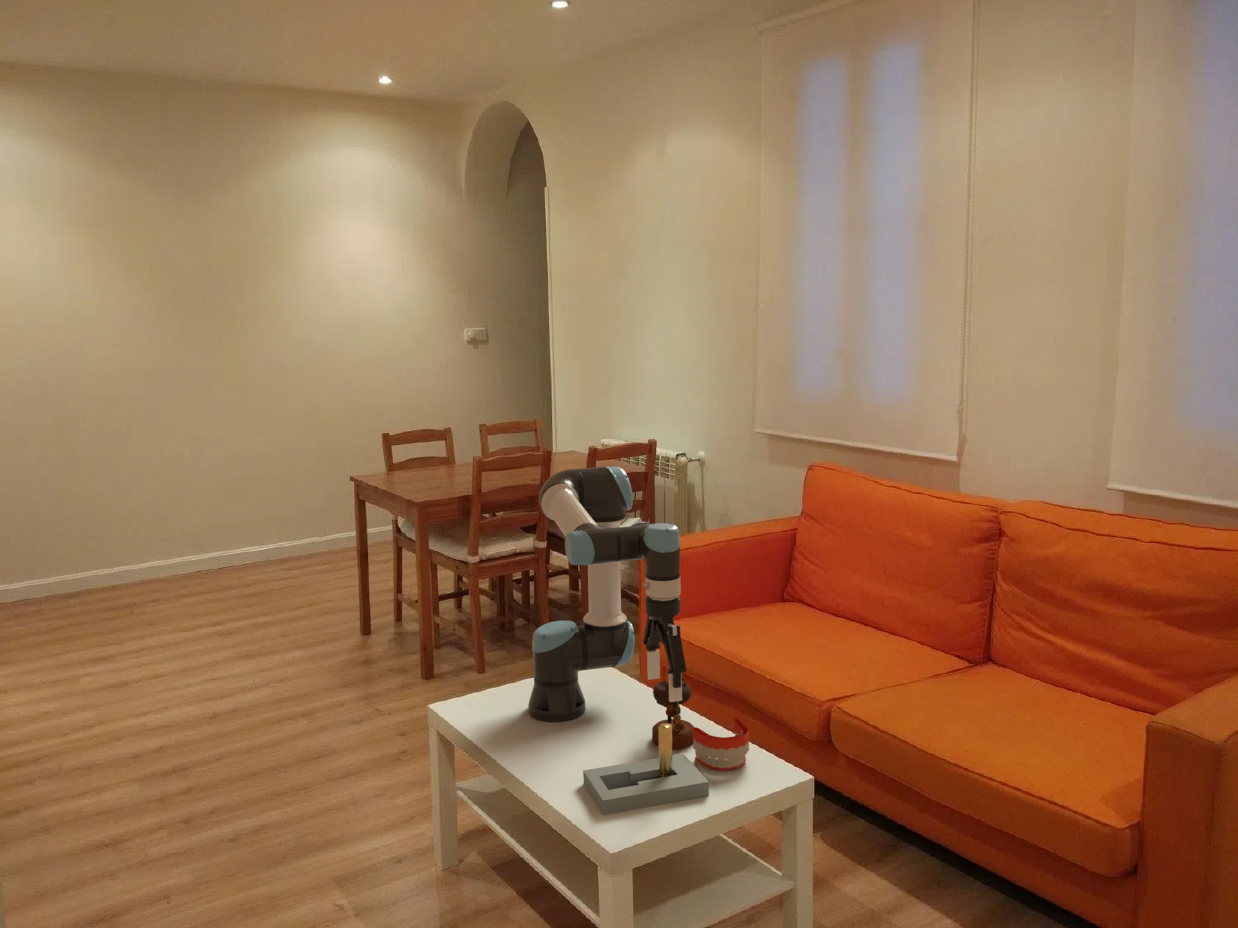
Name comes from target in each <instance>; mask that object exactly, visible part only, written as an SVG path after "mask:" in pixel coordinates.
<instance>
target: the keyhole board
mask: <svg viewBox="0 0 1238 928" xmlns="http://www.w3.org/2000/svg"><path fill="white" fill-rule="evenodd" d="M672 756H673V776H668V777H662V778H658V777H659V757H655V758H650V759H645V760H638V761H632V762H625V763H619V764H613V765H608V766H602V767H595V768H590V769H584V770H583V771H582V775H583V776H582V777H583V785H584V787H585V789H586V790H587V791H588V793H589V795H590V796H591V797H592V799H593V801H594V802H595V804H596V806H597V807H598V809H599V811H600V812H601V813H602V815H610V814H615V813H621V812H626V811H631V810H637V809H643V808H649V807H652V806H653V807H654V806H660V805H664V804H670V803H675V802H682V801H687V800H693V799H697V798H703V797H708V796H709V795H710V791H709V790H710V783H709V780H708V779H707V778H706V777H705V776H704V775H703V774H702V773H701V771H700V770H699V769H698V768H697V767H696V765H694V764H693V762H692V761H690V759H688V757H687V756H686V755H685V754H684V753H681V754H680V753H679V754H674V755H673V754H672ZM636 784H637V785H636ZM629 785H630V786H629ZM617 787H618V788H617ZM611 788H612V789H611ZM613 788H614V789H613ZM709 797H710V796H709Z"/></svg>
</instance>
